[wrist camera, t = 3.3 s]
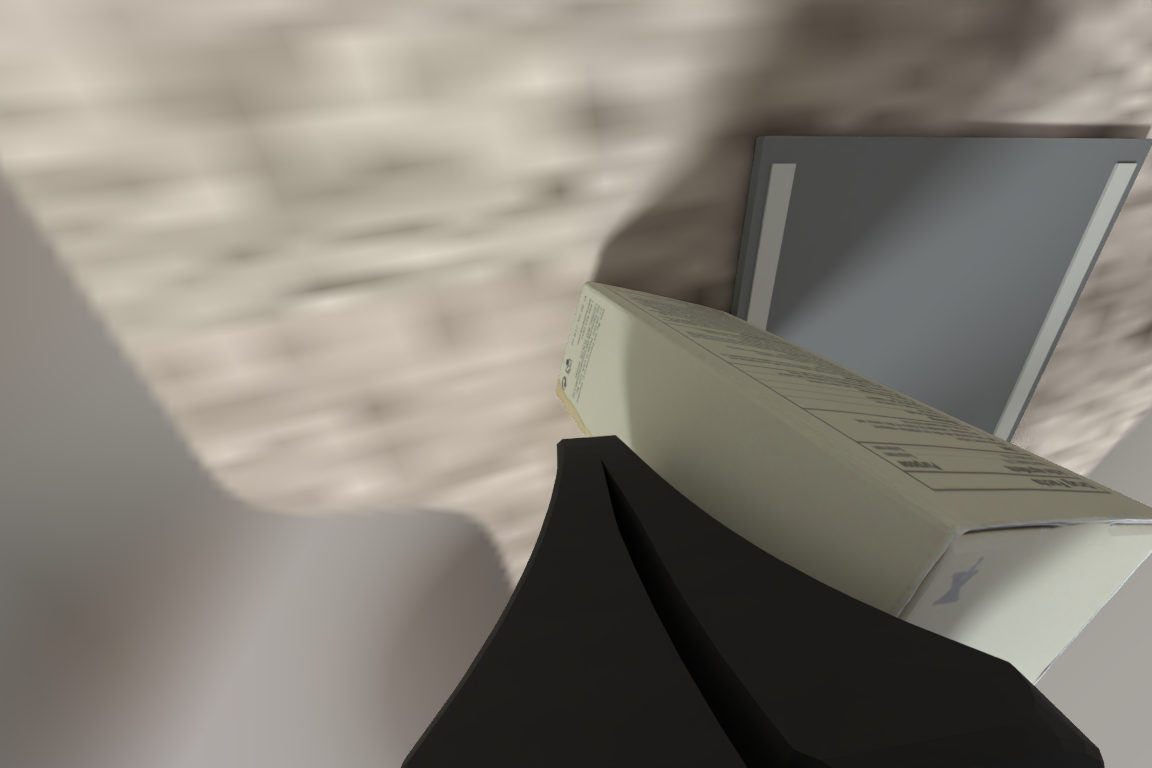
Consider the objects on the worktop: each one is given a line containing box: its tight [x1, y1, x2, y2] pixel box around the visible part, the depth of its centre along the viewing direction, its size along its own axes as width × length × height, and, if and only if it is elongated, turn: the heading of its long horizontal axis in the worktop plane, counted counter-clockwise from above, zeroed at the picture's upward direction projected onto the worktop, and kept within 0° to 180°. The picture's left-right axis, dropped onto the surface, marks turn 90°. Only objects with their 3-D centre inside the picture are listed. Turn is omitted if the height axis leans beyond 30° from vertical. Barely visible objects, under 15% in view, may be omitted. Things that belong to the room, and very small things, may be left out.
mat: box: [731, 136, 1152, 443], centre depth 19 cm, size 16×15×1 cm
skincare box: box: [556, 282, 1152, 685], centre depth 12 cm, size 6×4×12 cm
